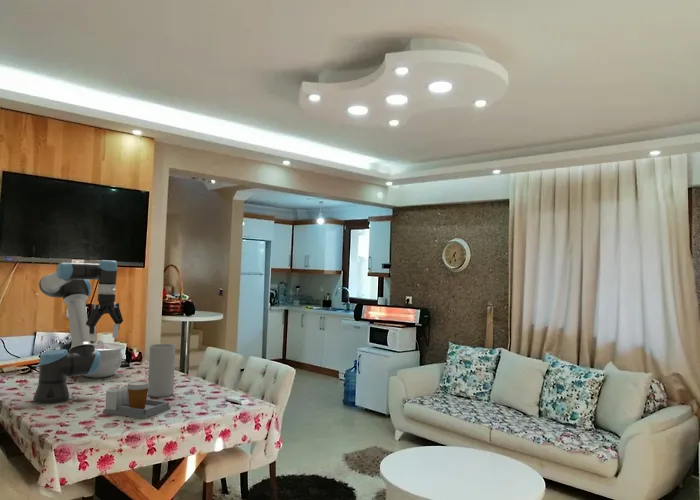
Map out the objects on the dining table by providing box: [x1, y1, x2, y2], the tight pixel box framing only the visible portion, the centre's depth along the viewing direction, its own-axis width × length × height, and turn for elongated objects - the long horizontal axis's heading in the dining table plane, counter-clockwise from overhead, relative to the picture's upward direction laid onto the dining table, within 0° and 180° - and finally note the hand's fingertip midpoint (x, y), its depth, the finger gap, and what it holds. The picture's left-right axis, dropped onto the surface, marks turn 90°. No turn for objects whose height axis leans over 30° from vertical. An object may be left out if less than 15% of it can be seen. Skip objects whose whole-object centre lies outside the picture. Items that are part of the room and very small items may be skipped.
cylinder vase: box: [147, 343, 176, 398], centre depth 278 cm, size 12×12×25 cm
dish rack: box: [102, 384, 171, 420], centre depth 246 cm, size 22×18×10 cm
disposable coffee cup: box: [127, 380, 150, 409], centre depth 242 cm, size 10×10×12 cm
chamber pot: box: [83, 340, 126, 379], centre depth 320 cm, size 28×28×21 cm
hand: (104, 339), depth 251 cm, fingers open, 13 cm apart
